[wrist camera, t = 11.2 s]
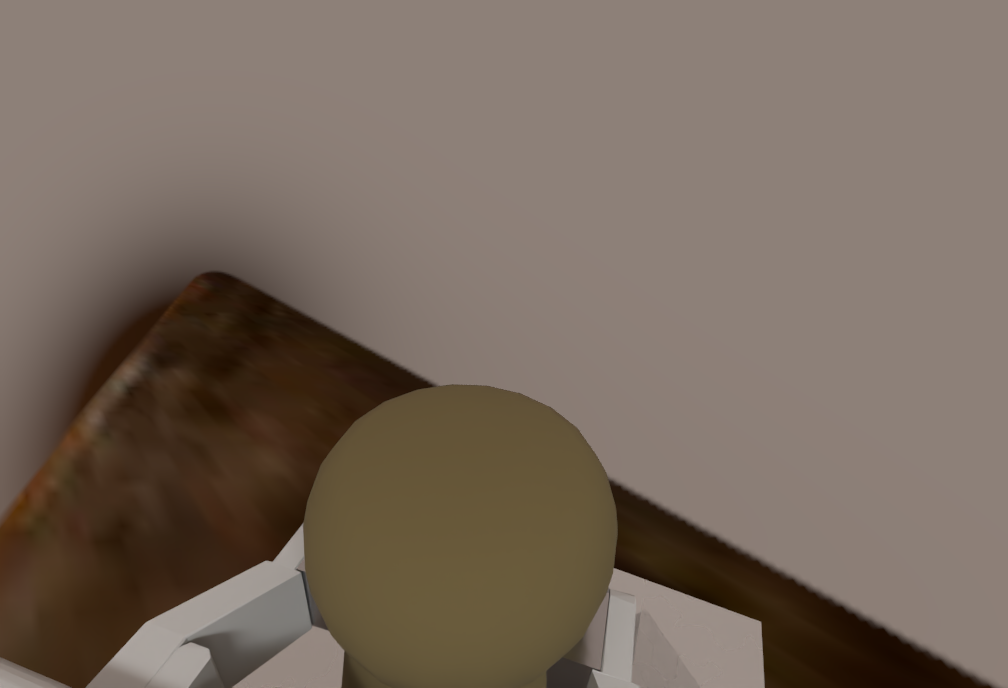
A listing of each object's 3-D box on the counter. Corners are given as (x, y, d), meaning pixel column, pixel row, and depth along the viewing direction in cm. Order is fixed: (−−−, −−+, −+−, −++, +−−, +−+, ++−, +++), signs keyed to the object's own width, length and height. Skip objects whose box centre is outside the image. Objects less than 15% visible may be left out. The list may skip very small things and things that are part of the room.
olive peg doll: (342, 653, 16) (290, 348, 10) (534, 624, 17) (588, 336, 11) (322, 954, 11) (193, 686, 5) (597, 881, 12) (754, 598, 6)
